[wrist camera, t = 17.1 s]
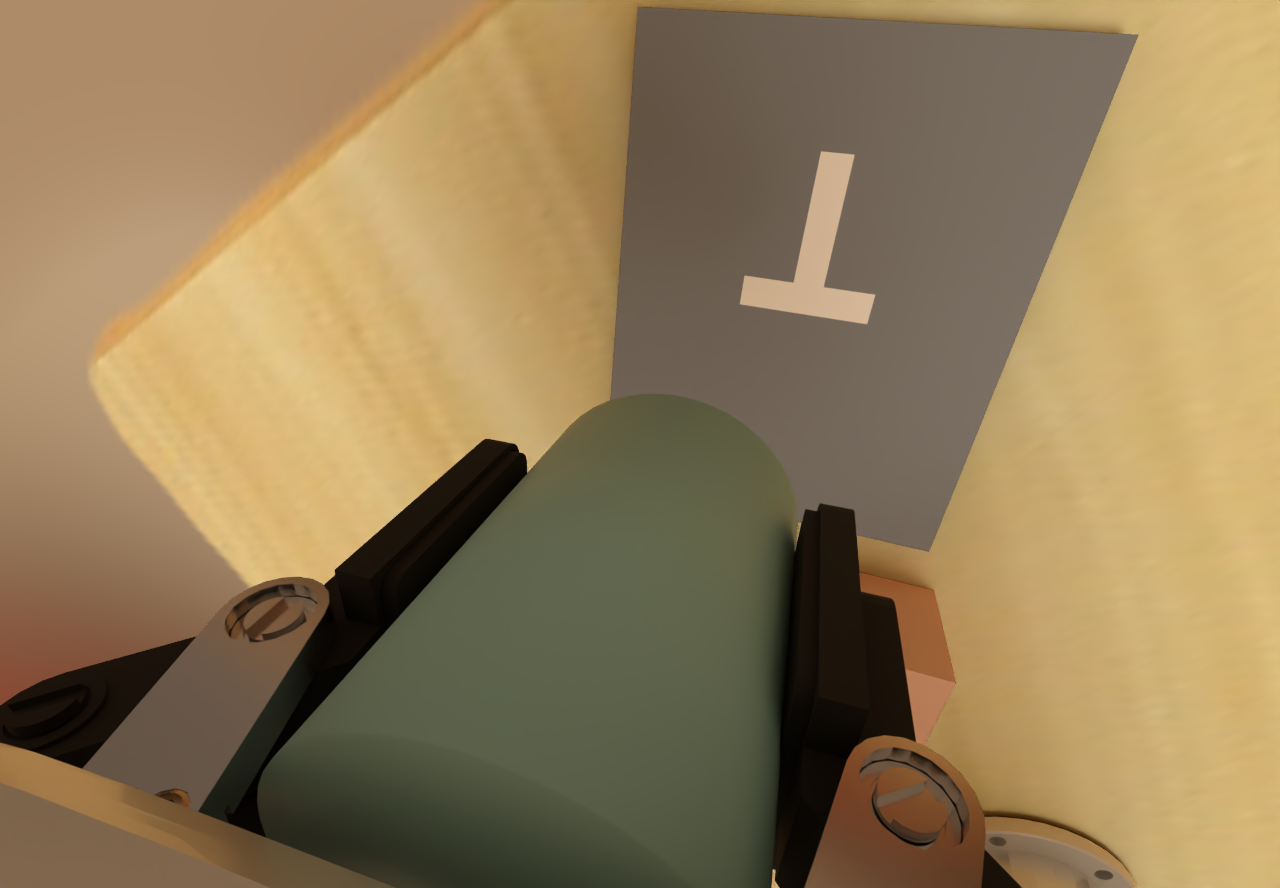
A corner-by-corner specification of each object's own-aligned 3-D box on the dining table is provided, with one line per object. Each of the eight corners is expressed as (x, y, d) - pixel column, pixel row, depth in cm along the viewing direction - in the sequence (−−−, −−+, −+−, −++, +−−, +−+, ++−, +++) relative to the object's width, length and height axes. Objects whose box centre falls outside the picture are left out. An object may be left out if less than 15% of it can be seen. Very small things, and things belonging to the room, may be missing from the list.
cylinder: (822, 419, 10) (819, 867, 4) (773, 637, 12) (722, 1125, 6) (543, 373, 11) (191, 665, 5) (548, 582, 13) (316, 951, 7)
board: (1124, 40, 19) (1138, 34, 18) (925, 539, 28) (928, 551, 27) (645, 12, 22) (637, 6, 21) (611, 468, 31) (604, 477, 31)
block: (933, 589, 29) (956, 683, 24) (894, 678, 33) (907, 777, 27) (802, 557, 31) (797, 639, 26) (777, 645, 34) (768, 734, 29)
